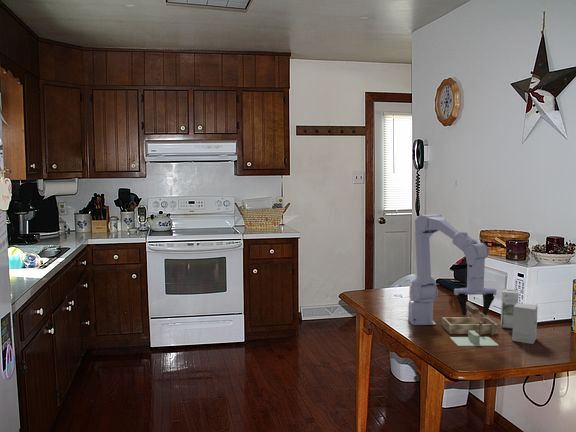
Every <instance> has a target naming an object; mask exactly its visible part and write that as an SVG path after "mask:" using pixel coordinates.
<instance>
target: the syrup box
mask: <svg viewBox="0 0 576 432" xmlns="http://www.w3.org/2000/svg"><path fill="white" fill-rule="evenodd" d="M516 303H519V290H518V289H509V288H501V307H500V308H501V309H500V327H501V328H502V329H512V330H513V311H514V306H515V305H516Z"/></svg>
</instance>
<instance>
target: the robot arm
mask: <svg viewBox="0 0 576 432" xmlns="http://www.w3.org/2000/svg"><path fill="white" fill-rule="evenodd" d="M414 227H415V228H414V230H415V232H414V236H415V239H414V240H415V259H416V261H415V262H416V277H415V278H414V279H413V280H412V282H411V288H410V296H411V298H412V300H409V302H408V308H407V309H408V312H407V313H408V315H407V317H408V318H407V320H408V321H409V323H410V324H411V325H412V326H434V325H437V324H436V322H435V320H434V301H436V300H435V299H436V298H437V297H438V294H439V291H438V290H439V289H438V287H437V281H436V280H435V279H434V278H433V277H432V272H431V271H432V269H431V251H430V249H431V247H430V238H431V236H432V235H434V234H436V233H437V232H439V231H440V232H441V233H442V234H444V235H446V236H447V237H449V238H450V239H451V240H452V243H453V245H454V246H456V248H458V250H460V251H462V253H463V254H464V258H465V260H466V261H465V262H466V264H467V266H466V267H467V268H466V270H467V273H466V275H467V276H466V287H461V288H454V289H453V294H454V295H455V296H456V298H457V300H458V303H459V306H460V309H461V315H463V316H466V313H467V309H466V302H468V301H467V300H468V297H466V296H467V295H469V296H470V295H471V296H472V295H474V296H475V295H482V303H483V306H482V314H483V315H484V316H488V312H489V309H490V307H491V305H492V303H493V301H494V300H495V296H497V289H496V288H491V287H490V288H489V287H487V288H486V287H485V262H486V261H485V259H487V258H488V256H489V253H490V250H489V247H488V246H487V244H486V243H484V242H479V241H477V240H476V239H475V238H474V239H473V237H471V236H470V235H468V234H469V233H468V232H466V231H458V230H457V229H456V228H455V227H454V226H452V224H450V223H449V222H448V221H447V219H446V217H445V216H443V215H442V214H441V213H434V214H420V215H418V216H417V217H416V219H414Z"/></svg>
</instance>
